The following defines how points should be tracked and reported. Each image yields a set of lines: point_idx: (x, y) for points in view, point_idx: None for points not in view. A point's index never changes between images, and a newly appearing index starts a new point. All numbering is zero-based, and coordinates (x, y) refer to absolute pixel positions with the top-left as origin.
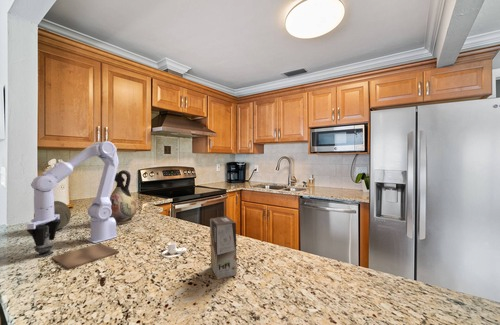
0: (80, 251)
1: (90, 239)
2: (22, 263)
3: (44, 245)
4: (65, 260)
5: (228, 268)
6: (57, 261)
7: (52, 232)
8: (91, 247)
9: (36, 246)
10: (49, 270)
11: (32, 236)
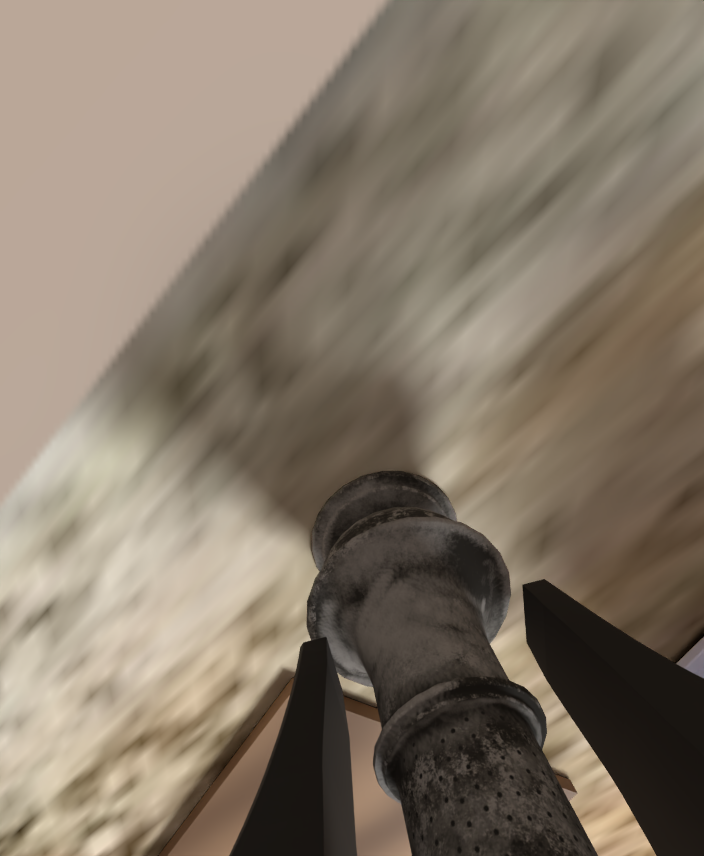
0: None
1: (700, 667)
2: (164, 531)
3: (361, 669)
4: (223, 834)
5: None
6: (219, 780)
7: (604, 746)
8: None
9: (340, 593)
10: (83, 830)
11: (247, 819)
